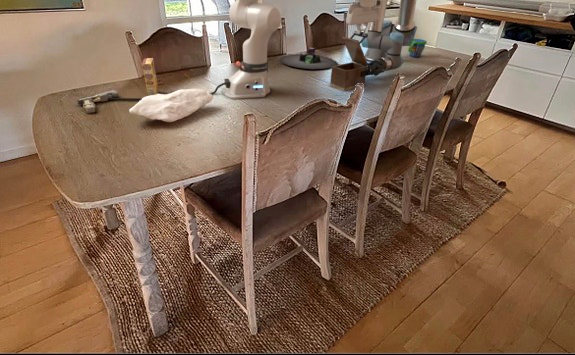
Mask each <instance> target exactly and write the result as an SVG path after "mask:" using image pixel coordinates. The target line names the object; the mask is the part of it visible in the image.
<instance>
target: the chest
mask: <svg viewBox="0 0 575 355" xmlns="http://www.w3.org/2000/svg"><path fill="white" fill-rule="evenodd" d="M365 70H367V66H364V65H361V64H357V63H355V62H352V61H351V62H346V63H342V64H341V63H340V64H336V65H335V66H332V67H331V71H330V72H331V73H330V80H329V81H330V82H329V86H330V87H333V88H336V89H338V90H339V91H343V92H345V91H346V92H347V91H350V90H353V89H356V88H355V85H356V84H357V83H363V84H364V86H365V85H366V78H367V76H364V77H360V76H361V71H365Z"/></svg>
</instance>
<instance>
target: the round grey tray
mask: <svg viewBox="0 0 575 355" xmlns="http://www.w3.org/2000/svg"><path fill="white" fill-rule="evenodd" d="M316 49H317V48H316V47H311V46H308V48H307V49H306V53H304V52H300V54H299V53H295V54H289V55H285V56H282V57H280V59H279V61H280V62H281V63H282V64H284V65H286V66H288V67H294V68H299V69H305V70H307V69H308V70H321V69H322V70H323V69H329V68H332V66H336V65H338V64H337V63H338V62H337V60H334V59H332V58H330V57H328V56H323V55H320V54H316Z"/></svg>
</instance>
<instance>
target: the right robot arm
mask: <svg viewBox="0 0 575 355" xmlns="http://www.w3.org/2000/svg"><path fill="white" fill-rule="evenodd" d="M381 1H382V3H381V6H380V16H379V19H378V21H377V22H370V23H368V26H367V32H365V34H368V37H367V38H365V39H364V40H363V41H362V43H361V44H360V45H361V48H366V52H365V54H364V56H365V58H366V61H367V63H368V65H367V70H365V71H361V76H360V77H364V76H366V77H368V76H374V77H377V76H379V75H380V74H382V73H385V72H388V71H393V70H396V69H399V68H401V67H402V65H403V63H404V60H403V56H402V55H401V54H402V49H403V47H409V46H411V45H412V42H413V39H415V35H416V33H417V31H418V26H416V22H415V21H414V19H415V12H416V11H415V10H416V5H417V0H399V9H398V16H397V20H396V21H395V22H394V23H393V21H392V20H385V16H386V10H387V7H388V1H389V0H381ZM362 38H363V37H361V39H362ZM357 64H359V63H357ZM361 65H362V64H361ZM364 66H365V65H364Z"/></svg>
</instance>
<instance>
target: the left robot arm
mask: <svg viewBox="0 0 575 355" xmlns="http://www.w3.org/2000/svg"><path fill="white" fill-rule="evenodd" d="M381 3H382V1H381V0H355V2H352V3H351V4H350V5H349V6H348V10H347V13H346V19H345V23H346V25H348V26H355V27H356V31H357V33H358V34H360V33H366V30H367V29H368V26H369V23H370V22H377V21H378V19H379V16H380V6H381ZM228 17H229V20H230V22H231V23H232V24H233V25H235V26H237V27H240V28H242V29H247V30H251V31H250V37H249V38H247V39H246V40H245V41H244V42H243V43H242V59H243V60H242V61H236V62H235V65H236V66H237V67H239V69H237V71H236V72H235V73H234V74H232V75H231V76H230V77H229V78H224V81H223V82H222V83H220V84H218V85H217V86H216V87H215V89H214V91H212V92H209V93H210V94H212V95H214V94H216V93H217V92H218V89H219V88H221V87H222V86H225V87H224V88H223V91H222V92H223V94H224V95H225V96H226V97H228V98H230V99H233V100H236V99H237V100H238V99H239V100H240V99H253V98H254V99H255V98H264V97H266V95H268V94H269V93H270V92H271V88H270V84H269V78H268V76H269V75H268V72H269V61H268V47H269V41H270V38H271V37H272V35H273V34H274V33H275V32H276V31H277V30H278V29H279V27H280V26H281V23H282V15H281V12H280V9H278V8H277V7H275V6H273V5H270V4H267V3H262V2H259V0H235V1H234V2H232V3H231V5H230V7H229V9H228ZM361 27H362V28H361ZM142 98H143V97H112V98H108V100H107V101H140V100H141V99H142Z"/></svg>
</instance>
